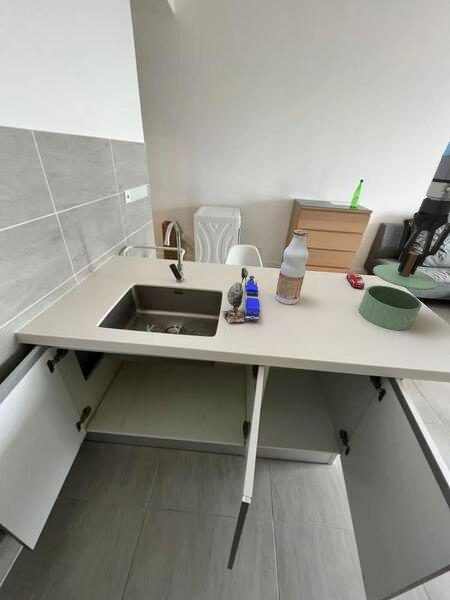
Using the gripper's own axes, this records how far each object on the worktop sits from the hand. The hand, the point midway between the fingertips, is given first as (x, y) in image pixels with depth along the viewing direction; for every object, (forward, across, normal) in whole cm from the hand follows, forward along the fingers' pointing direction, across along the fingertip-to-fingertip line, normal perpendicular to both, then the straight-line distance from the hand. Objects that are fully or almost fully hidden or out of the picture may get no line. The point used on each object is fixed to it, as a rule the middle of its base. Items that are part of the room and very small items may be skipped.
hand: (405, 271), depth 83 cm
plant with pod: (+18, -50, -29) cm, 61 cm away
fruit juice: (+18, -36, -7) cm, 41 cm away
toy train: (+15, -49, -17) cm, 54 cm away
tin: (+19, 0, 0) cm, 19 cm away
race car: (+19, -11, +25) cm, 33 cm away
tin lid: (+2, 0, 0) cm, 2 cm away
